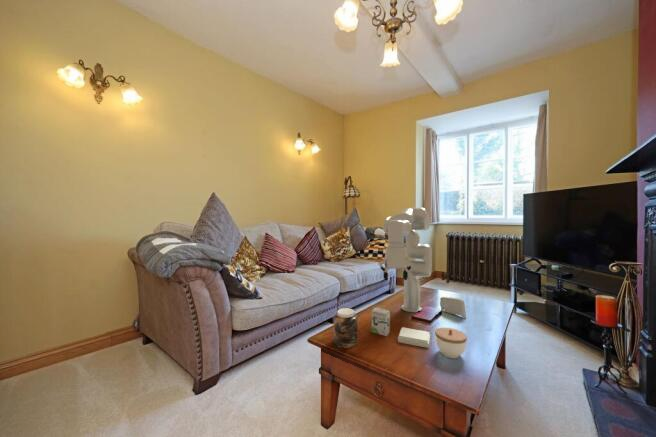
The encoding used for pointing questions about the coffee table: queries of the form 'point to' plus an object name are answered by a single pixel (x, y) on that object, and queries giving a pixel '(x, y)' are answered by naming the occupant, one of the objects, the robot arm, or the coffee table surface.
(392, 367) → the coffee table surface
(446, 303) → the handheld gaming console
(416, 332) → the stand
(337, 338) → the jar
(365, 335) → the coffee table surface
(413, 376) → the coffee table surface
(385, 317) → the ink box
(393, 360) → the coffee table surface
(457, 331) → the lidded bowl
